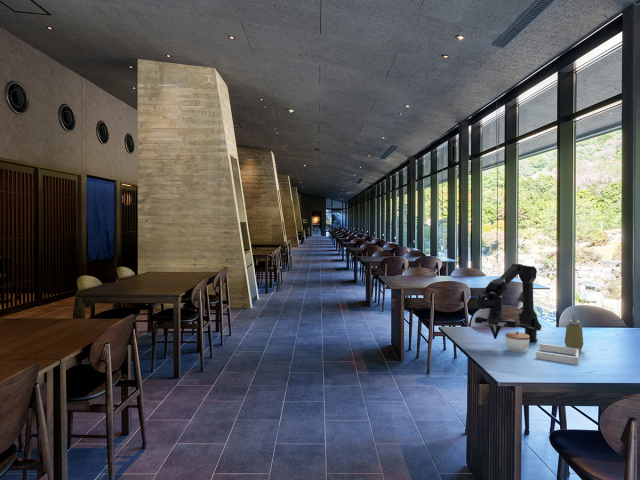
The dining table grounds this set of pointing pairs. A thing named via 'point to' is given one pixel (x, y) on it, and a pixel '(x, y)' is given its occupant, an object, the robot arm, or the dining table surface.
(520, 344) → the lidded jar
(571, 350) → the box
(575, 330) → the squeeze bottle
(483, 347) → the dining table surface
